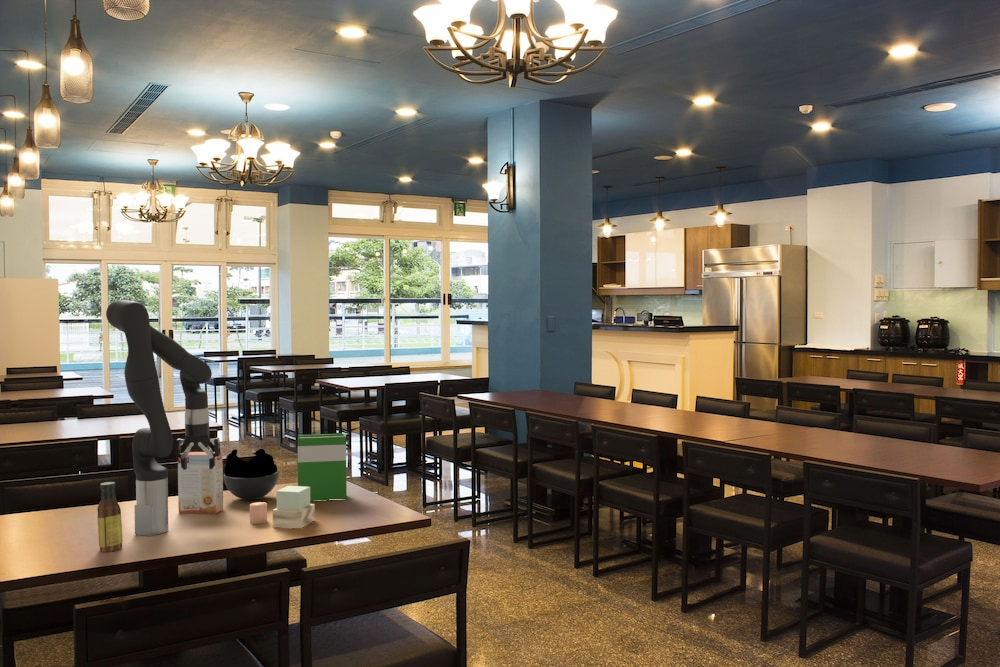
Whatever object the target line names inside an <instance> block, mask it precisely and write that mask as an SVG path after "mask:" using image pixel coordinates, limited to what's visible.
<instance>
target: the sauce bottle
mask: <svg viewBox="0 0 1000 667" xmlns="http://www.w3.org/2000/svg"><path fill="white" fill-rule="evenodd" d="M99 489H100V501H99V503H98V505H97V508H96V510H97V530H98V547H99V551H100V552H101V551H103V552H102V553H111V551H112V552H117V551H119V550H120V549H122V548H123V525H122V523H123V522H122V509H121V507H120V504H119V503H118V500H117V498H116V482H115V481H105V482H101V483H100V485H99ZM116 550H117V551H116Z"/></svg>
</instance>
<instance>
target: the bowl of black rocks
mask: <svg viewBox="0 0 1000 667" xmlns="http://www.w3.org/2000/svg"><path fill="white" fill-rule="evenodd" d="M252 454H253V455H254V456H253V457H252V458H251V459H249V460H247V461H246V460H242V459H241V458H240V457H239V456H238V449H233V450H231V452H230V453H229V454H227V455H226V458H225V459H226V460H227V461H226V462H225V465H224V473H223V483H224V485H225V486H226V489H227V490H228V492H230V493H231V494H232V495H233V496H235V497H236V498H238V499H241V500H246V501H254V500H255V501H256V500H259V499H262V498H263V497H265V496H266V495H268V494H270V492H271V491H272V490H273V489H274V488H275V487H276V485H277V483H278V479H279V476H280V471H279V470H278V466H277V464H276V463H275V461H274V456H272V455H271V454H269V453H268V452H266V450H265V449H264V448H259V449H257V450H255V452H253V453H252Z"/></svg>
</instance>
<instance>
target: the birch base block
mask: <svg viewBox="0 0 1000 667" xmlns="http://www.w3.org/2000/svg"><path fill="white" fill-rule="evenodd" d="M315 506H316V505H315V503H310V505H309V506H307V507H305V508H303V509H301V510H282V509H277V507H275V508H274V509H272V528H276V527H281V528H280V529H292V528H302V527H304V526H305V527H307V526H308V525H307V524H309V523H311V522H312V521H314V520H315V521H316V511H315V510H316V507H315ZM315 521H314V522H315ZM312 523H313V522H312ZM312 523H311V524H312ZM306 525H307V526H306ZM309 525H310V524H309ZM305 527H304V528H305ZM302 529H303V528H302Z"/></svg>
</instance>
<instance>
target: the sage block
mask: <svg viewBox="0 0 1000 667" xmlns="http://www.w3.org/2000/svg"><path fill="white" fill-rule="evenodd" d="M310 504H311V502H310V487H304V486H298V485H286V486H284V487H282V488H280V489H278V490H276V508H277V509H282V510H301V509H303V508H305V507H307V506H309V505H310Z"/></svg>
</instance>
